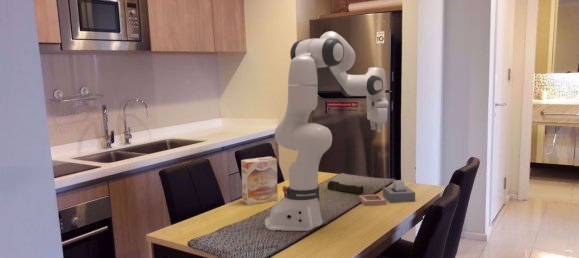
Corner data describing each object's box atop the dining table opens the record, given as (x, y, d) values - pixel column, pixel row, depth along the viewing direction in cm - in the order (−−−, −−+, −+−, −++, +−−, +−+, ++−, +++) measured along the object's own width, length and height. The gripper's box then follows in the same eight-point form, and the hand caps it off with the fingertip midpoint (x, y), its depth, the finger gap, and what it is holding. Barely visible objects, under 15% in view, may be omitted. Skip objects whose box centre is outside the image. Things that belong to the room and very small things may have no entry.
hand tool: (364, 193, 208) (364, 184, 207) (360, 195, 204) (360, 186, 204) (330, 188, 219) (330, 179, 218) (326, 190, 216) (325, 181, 215)
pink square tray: (364, 205, 188) (364, 201, 188) (359, 199, 198) (359, 195, 197) (386, 204, 189) (386, 200, 189) (379, 198, 198) (379, 194, 198)
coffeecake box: (248, 205, 193) (246, 162, 191) (242, 201, 199) (240, 159, 197) (278, 200, 200) (277, 158, 198) (271, 196, 206) (270, 155, 204)
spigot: (395, 200, 195) (395, 182, 194) (392, 197, 199) (392, 180, 198) (404, 199, 196) (404, 182, 195) (401, 197, 200) (401, 180, 199)
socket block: (390, 202, 192) (390, 193, 191) (382, 195, 202) (382, 187, 202) (415, 201, 193) (415, 192, 192) (406, 194, 203) (406, 186, 203)
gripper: (363, 100, 215) (363, 128, 217) (376, 103, 195) (376, 134, 197) (376, 100, 216) (376, 128, 218) (389, 103, 196) (389, 133, 197)
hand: (376, 131), depth 207 cm, fingers open, 8 cm apart
